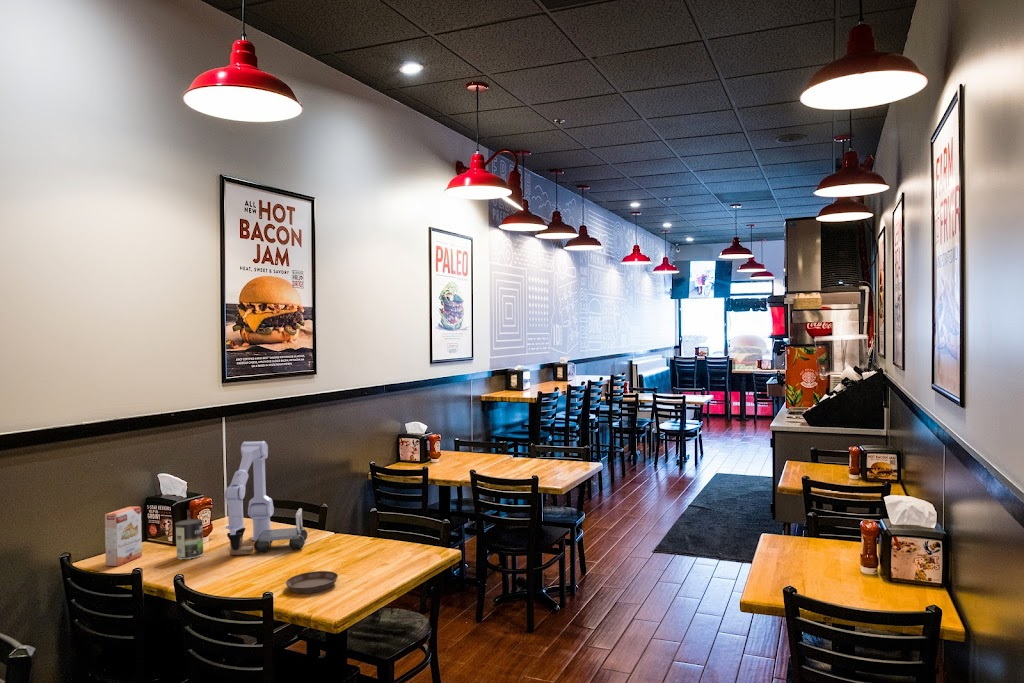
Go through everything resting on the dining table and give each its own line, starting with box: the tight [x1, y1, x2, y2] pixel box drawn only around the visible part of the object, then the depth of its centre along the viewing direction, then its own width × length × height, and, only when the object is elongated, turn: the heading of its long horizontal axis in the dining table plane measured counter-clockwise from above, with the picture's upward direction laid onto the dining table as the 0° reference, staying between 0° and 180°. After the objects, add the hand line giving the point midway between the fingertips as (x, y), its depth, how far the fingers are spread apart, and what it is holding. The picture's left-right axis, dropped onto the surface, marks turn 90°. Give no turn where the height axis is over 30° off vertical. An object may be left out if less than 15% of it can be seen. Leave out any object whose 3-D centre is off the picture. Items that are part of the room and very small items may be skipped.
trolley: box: [253, 507, 308, 554], centre depth 302 cm, size 13×20×15 cm, turn 100°
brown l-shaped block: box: [229, 536, 254, 556], centre depth 294 cm, size 4×8×6 cm, turn 100°
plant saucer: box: [285, 570, 339, 594], centre depth 250 cm, size 18×18×3 cm
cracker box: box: [104, 506, 143, 567], centre depth 290 cm, size 14×6×21 cm, turn 168°
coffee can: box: [174, 518, 205, 560], centre depth 294 cm, size 10×10×14 cm
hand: (237, 548), depth 293 cm, fingers closed on brown l-shaped block, 4 cm apart
